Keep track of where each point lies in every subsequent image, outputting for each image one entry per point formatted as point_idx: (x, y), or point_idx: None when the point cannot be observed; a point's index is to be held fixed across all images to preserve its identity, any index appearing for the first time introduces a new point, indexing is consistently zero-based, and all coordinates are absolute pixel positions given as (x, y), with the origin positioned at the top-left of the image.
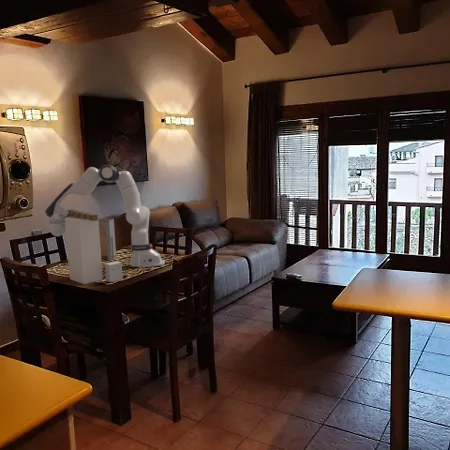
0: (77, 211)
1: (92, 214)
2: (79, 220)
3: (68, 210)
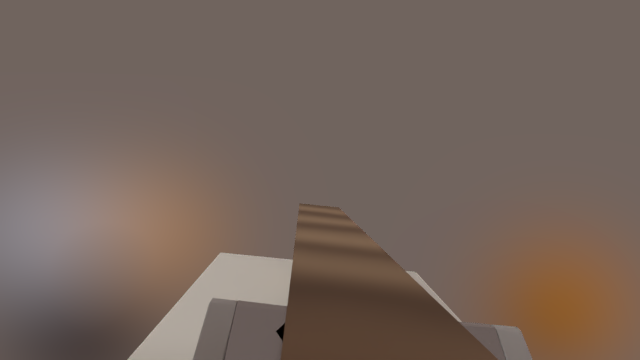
0: (332, 245)
1: (312, 208)
2: (410, 272)
3: (458, 323)
